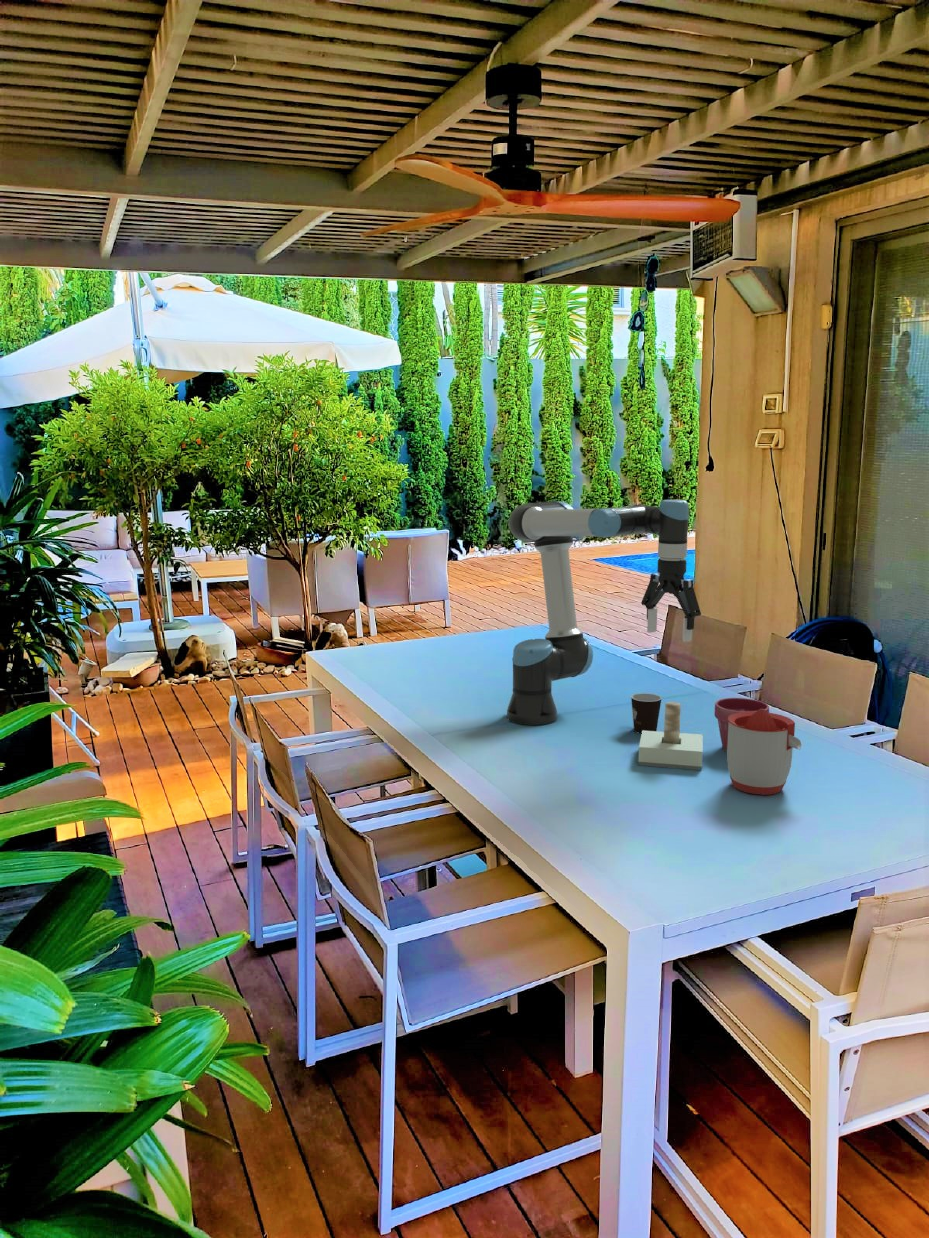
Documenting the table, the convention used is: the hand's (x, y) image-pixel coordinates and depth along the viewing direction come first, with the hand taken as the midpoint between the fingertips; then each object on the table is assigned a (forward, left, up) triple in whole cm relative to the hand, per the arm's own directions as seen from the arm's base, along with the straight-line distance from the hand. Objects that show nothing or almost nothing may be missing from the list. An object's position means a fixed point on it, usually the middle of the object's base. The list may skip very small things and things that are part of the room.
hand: (669, 636), depth 256 cm
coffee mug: (-6, +13, -31) cm, 34 cm away
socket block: (+2, -11, -31) cm, 33 cm away
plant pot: (+20, +1, -31) cm, 37 cm away
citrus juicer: (+24, -27, -31) cm, 48 cm away
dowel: (+2, -11, -30) cm, 32 cm away
